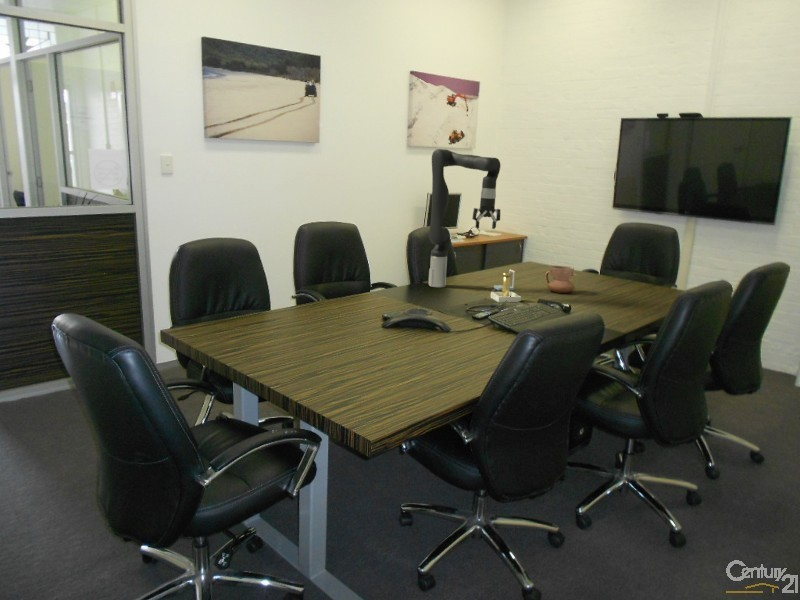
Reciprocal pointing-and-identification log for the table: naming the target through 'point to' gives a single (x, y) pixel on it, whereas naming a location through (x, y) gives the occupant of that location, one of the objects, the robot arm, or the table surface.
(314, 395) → the table surface
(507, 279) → the stop pin
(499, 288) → the trolley
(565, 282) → the ceramic jug
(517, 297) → the tray
